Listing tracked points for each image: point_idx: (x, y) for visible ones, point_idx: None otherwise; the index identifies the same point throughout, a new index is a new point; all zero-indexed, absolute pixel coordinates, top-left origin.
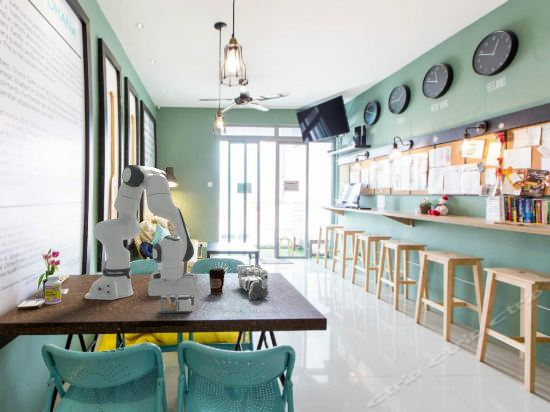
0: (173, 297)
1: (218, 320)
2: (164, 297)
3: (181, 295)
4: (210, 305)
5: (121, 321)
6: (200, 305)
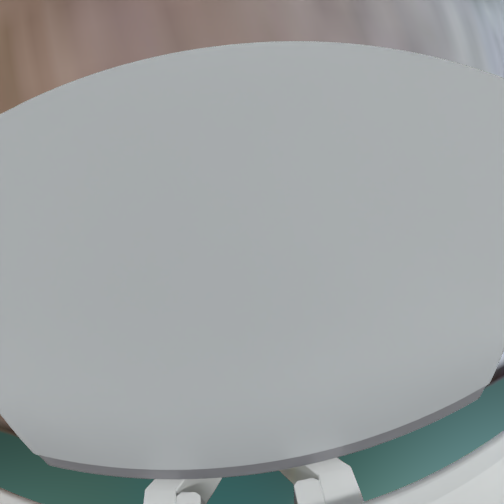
0: (246, 473)
1: (498, 372)
2: (96, 473)
3: (395, 384)
4: (500, 70)
5: (13, 433)
6: (440, 44)
